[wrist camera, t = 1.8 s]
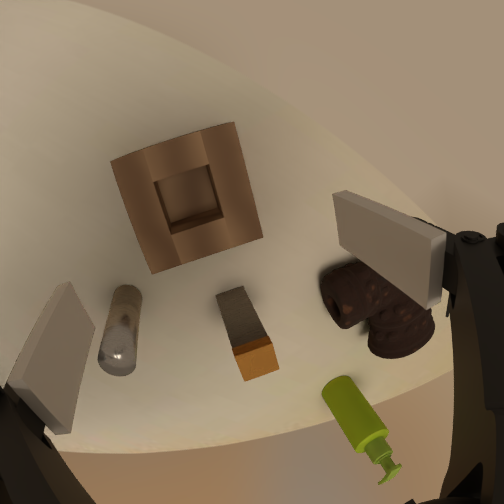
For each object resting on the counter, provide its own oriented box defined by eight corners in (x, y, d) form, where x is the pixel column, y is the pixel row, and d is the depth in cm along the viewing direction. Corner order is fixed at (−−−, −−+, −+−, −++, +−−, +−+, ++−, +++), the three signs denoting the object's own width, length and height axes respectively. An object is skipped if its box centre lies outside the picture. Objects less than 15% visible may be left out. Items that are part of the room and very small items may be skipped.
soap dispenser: (318, 406, 49) (368, 492, 31) (324, 380, 47) (384, 472, 29) (346, 398, 51) (399, 477, 33) (354, 372, 48) (417, 455, 30)
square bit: (223, 318, 37) (244, 381, 27) (215, 295, 36) (234, 356, 26) (250, 308, 38) (279, 369, 28) (243, 285, 36) (272, 343, 26)
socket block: (154, 254, 32) (151, 274, 28) (119, 157, 27) (110, 161, 23) (250, 222, 34) (263, 237, 29) (224, 123, 29) (234, 121, 24)
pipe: (344, 291, 31) (369, 386, 35) (436, 234, 33) (447, 328, 37) (306, 269, 40) (335, 354, 44) (390, 225, 42) (407, 307, 46)
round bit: (109, 301, 33) (92, 365, 23) (121, 279, 32) (106, 340, 22) (133, 315, 34) (126, 381, 24) (147, 293, 33) (142, 357, 23)
